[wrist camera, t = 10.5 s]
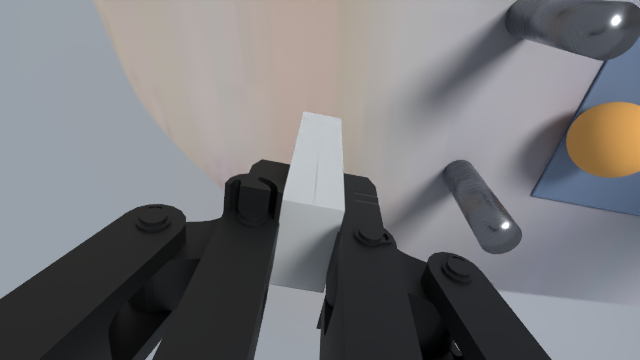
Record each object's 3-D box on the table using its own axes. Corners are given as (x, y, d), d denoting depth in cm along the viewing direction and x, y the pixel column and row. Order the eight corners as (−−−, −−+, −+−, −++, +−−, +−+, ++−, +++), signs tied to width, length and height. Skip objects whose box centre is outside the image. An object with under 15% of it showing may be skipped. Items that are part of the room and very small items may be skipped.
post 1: (478, 163, 30) (529, 225, 23) (467, 189, 32) (511, 257, 24) (449, 157, 30) (489, 218, 22) (438, 183, 32) (473, 250, 24)
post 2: (551, 0, 24) (655, 8, 16) (534, 40, 26) (622, 65, 18) (515, -8, 24) (602, -4, 16) (499, 32, 25) (573, 54, 18)
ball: (584, 93, 24) (597, 88, 28) (544, 163, 27) (560, 151, 31) (685, 124, 21) (684, 115, 25) (628, 200, 24) (635, 181, 28)
